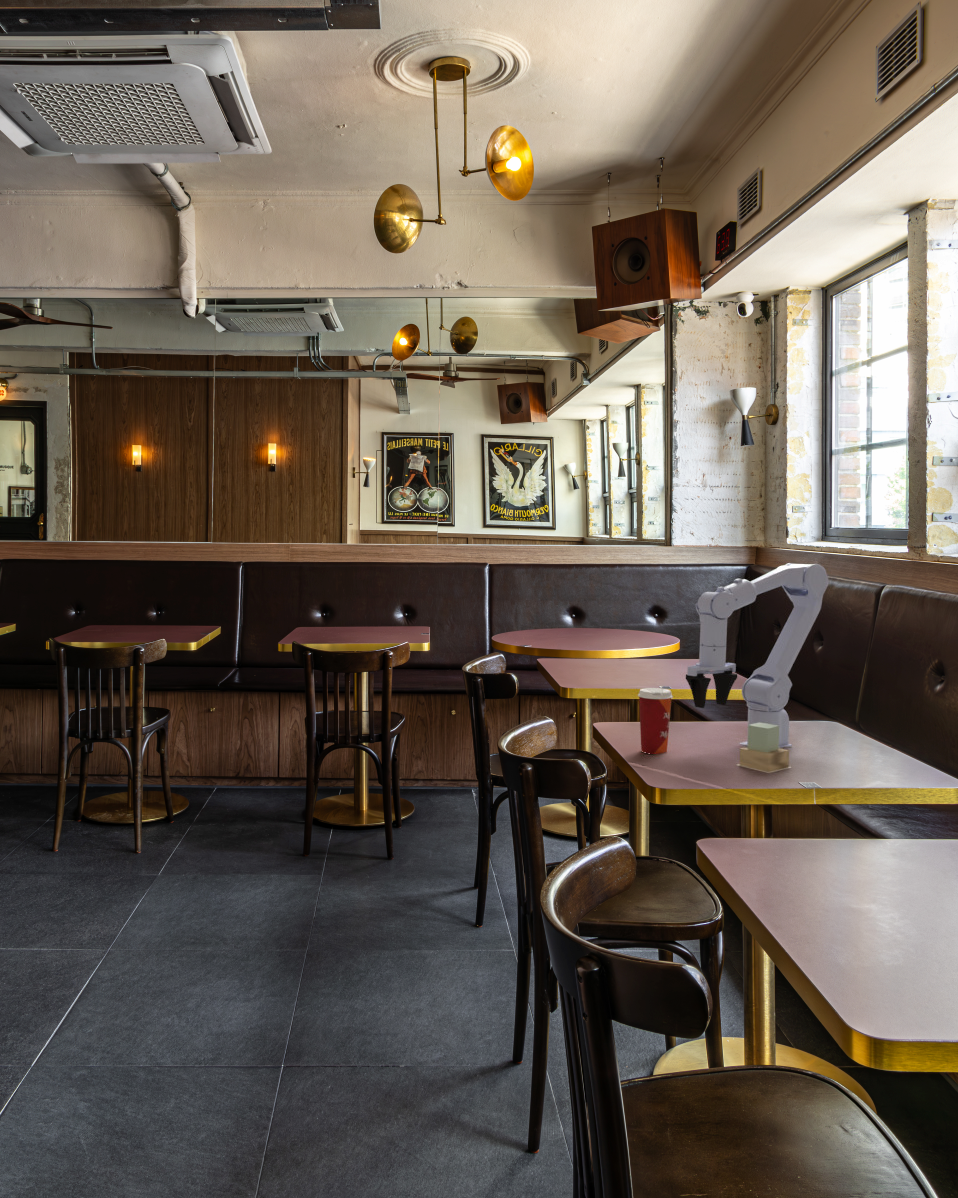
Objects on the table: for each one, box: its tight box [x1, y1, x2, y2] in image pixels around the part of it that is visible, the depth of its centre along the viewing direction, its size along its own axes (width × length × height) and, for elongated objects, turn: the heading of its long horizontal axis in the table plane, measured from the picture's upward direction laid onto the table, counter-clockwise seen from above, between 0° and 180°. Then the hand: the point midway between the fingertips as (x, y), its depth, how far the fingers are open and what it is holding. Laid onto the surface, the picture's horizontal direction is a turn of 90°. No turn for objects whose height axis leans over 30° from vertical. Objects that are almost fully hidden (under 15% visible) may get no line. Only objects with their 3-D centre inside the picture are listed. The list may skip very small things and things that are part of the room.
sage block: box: [747, 722, 779, 753], centre depth 181 cm, size 4×4×5 cm
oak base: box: [739, 746, 790, 773], centre depth 181 cm, size 7×7×4 cm
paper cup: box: [637, 687, 674, 755], centre depth 195 cm, size 8×8×14 cm
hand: (710, 705), depth 195 cm, fingers open, 7 cm apart
